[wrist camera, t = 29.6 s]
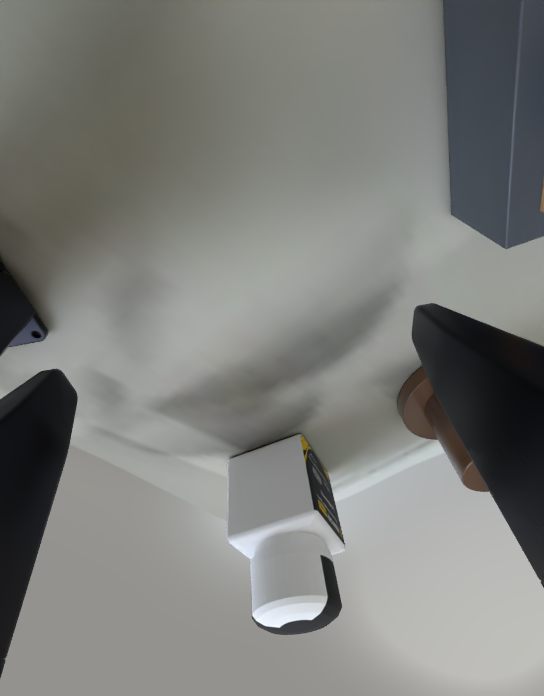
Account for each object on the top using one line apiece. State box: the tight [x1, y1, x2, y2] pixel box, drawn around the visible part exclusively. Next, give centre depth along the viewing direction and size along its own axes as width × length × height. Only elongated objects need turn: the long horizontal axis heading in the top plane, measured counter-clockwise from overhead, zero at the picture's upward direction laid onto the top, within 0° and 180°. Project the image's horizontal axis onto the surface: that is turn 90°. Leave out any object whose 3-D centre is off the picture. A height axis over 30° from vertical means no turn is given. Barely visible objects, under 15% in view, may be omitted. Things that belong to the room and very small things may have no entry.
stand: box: [398, 366, 489, 492], centre depth 24 cm, size 9×9×10 cm
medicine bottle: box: [227, 434, 345, 635], centre depth 28 cm, size 7×7×12 cm
